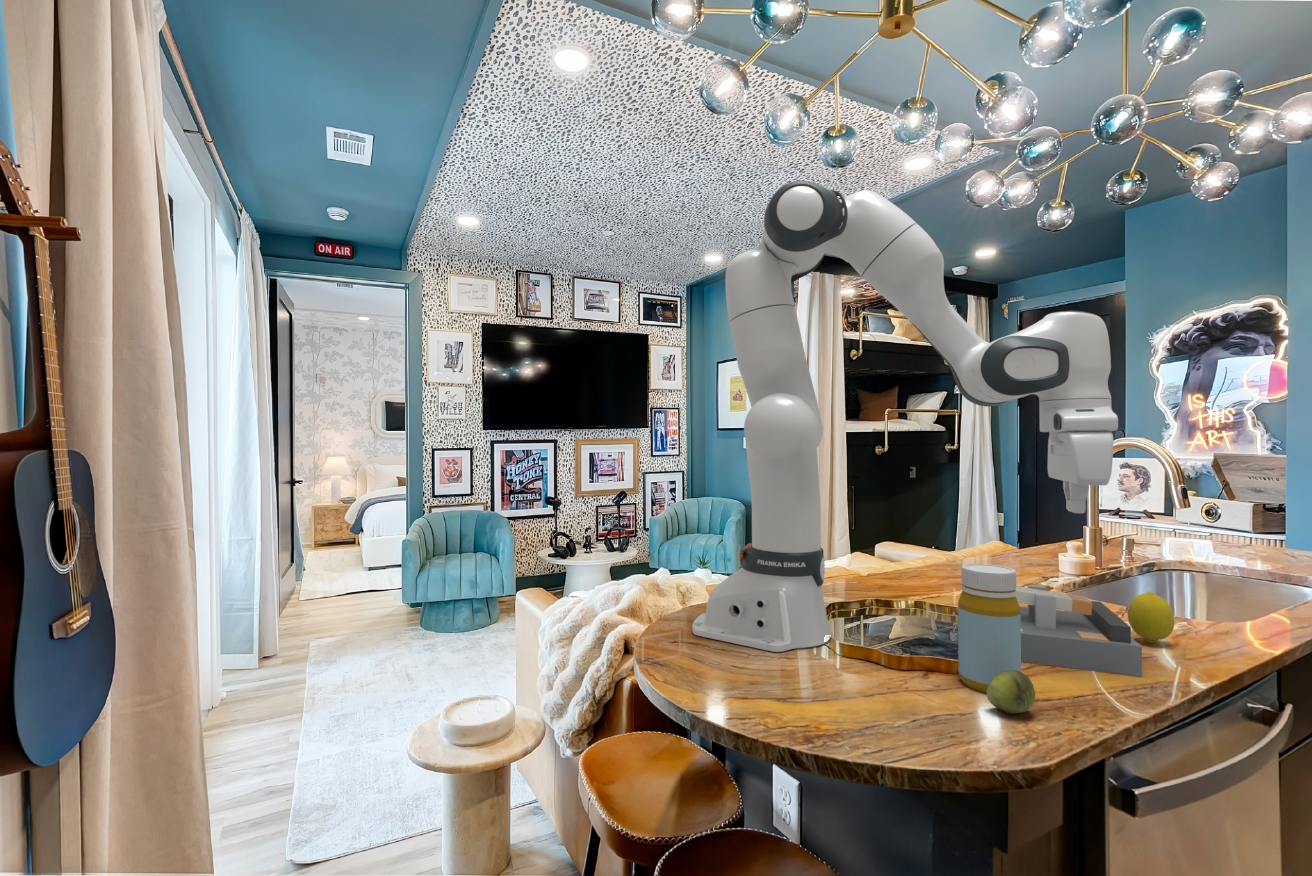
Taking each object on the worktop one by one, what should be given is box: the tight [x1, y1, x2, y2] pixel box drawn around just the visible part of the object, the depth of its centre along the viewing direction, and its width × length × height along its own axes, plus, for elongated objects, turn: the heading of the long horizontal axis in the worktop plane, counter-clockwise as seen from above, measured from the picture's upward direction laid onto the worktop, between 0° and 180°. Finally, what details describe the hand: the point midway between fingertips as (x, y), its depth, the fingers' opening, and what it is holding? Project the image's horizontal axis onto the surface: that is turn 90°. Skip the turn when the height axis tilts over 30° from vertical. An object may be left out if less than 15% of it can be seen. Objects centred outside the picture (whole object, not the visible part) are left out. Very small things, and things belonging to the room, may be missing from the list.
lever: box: [1016, 585, 1093, 615], centre depth 89 cm, size 12×4×2 cm, turn 66°
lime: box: [985, 670, 1036, 715], centre depth 68 cm, size 4×5×5 cm
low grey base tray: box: [1020, 584, 1143, 677], centre depth 89 cm, size 20×16×9 cm
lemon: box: [1127, 591, 1175, 644], centre depth 91 cm, size 6×6×8 cm
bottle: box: [957, 563, 1022, 694], centre depth 76 cm, size 7×7×15 cm
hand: (1075, 512), depth 88 cm, fingers closed
